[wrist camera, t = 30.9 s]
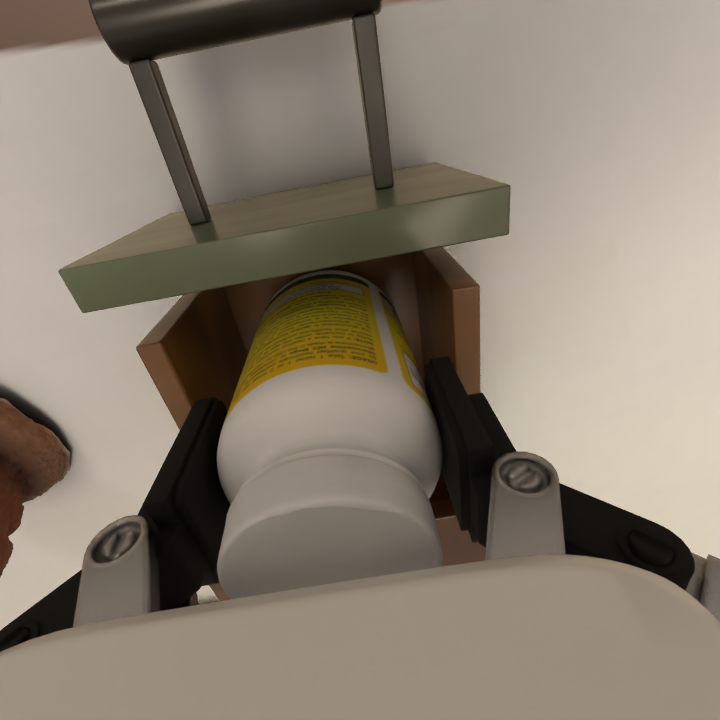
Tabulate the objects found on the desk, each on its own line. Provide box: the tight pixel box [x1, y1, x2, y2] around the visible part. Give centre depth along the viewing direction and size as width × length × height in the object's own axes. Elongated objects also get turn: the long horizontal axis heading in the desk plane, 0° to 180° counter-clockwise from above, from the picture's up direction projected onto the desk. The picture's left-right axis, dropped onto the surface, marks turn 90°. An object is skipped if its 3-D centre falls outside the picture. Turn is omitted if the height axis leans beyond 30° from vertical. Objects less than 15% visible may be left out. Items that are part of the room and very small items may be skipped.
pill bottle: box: [217, 270, 443, 600], centre depth 13 cm, size 6×6×11 cm
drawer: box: [58, 0, 510, 502], centre depth 15 cm, size 19×11×8 cm, turn 9°
